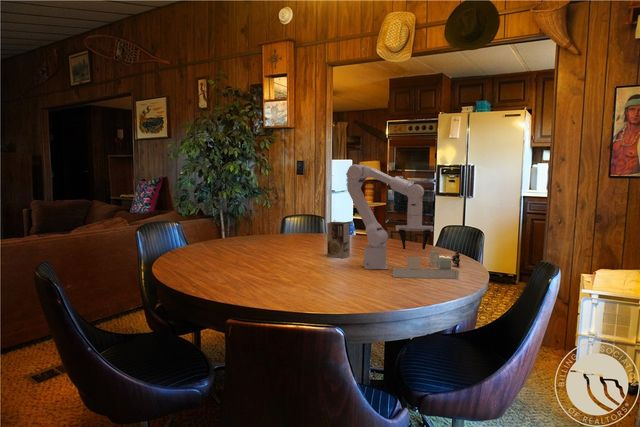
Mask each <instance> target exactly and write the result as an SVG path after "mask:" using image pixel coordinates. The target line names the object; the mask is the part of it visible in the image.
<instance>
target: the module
mask: <svg viewBox="0 0 640 427" xmlns="http://www.w3.org/2000/svg"><path fill="white" fill-rule="evenodd" d="M406 268H421V257H420V255H418V254H417V255H416V254H415V255H413V254H411V255H410V254H408V255H406Z"/></svg>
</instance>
